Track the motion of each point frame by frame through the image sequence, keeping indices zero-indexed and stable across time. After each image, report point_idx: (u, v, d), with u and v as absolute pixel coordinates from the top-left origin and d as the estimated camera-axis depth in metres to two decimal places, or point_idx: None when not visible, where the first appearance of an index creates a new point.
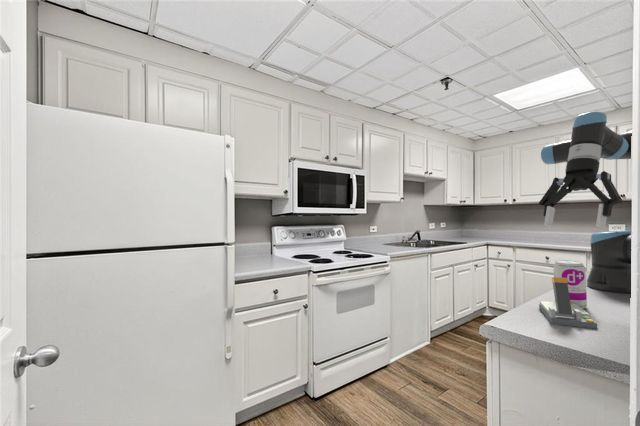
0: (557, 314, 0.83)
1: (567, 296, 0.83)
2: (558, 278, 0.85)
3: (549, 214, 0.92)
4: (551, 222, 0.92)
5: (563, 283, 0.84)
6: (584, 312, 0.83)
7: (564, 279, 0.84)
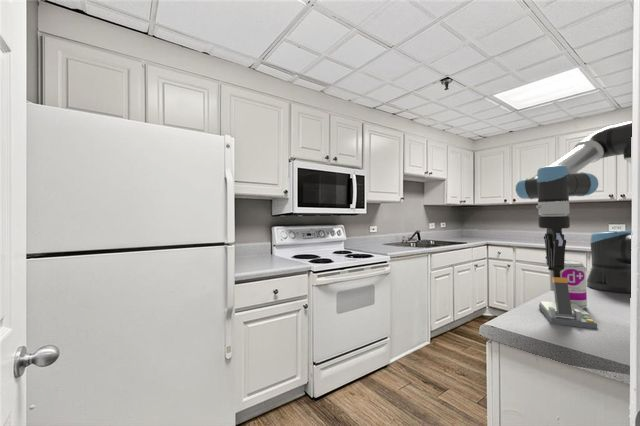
0: (557, 314, 0.83)
1: (567, 296, 0.83)
2: (558, 278, 0.85)
3: None
4: None
5: (563, 283, 0.84)
6: (584, 312, 0.83)
7: (564, 279, 0.84)
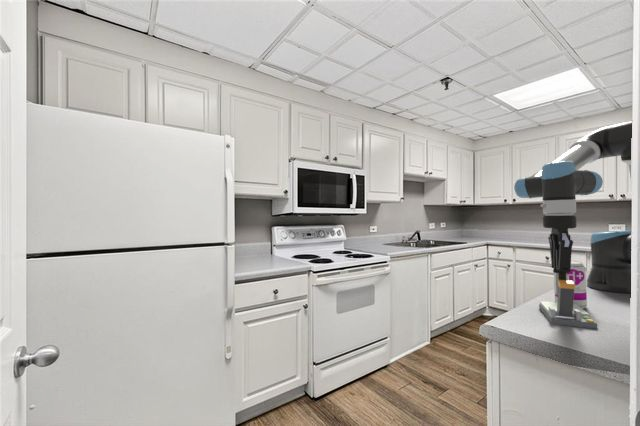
0: (557, 315, 0.83)
1: (571, 301, 0.80)
2: (565, 284, 0.79)
3: None
4: None
5: (569, 289, 0.79)
6: (584, 312, 0.83)
7: (571, 285, 0.79)
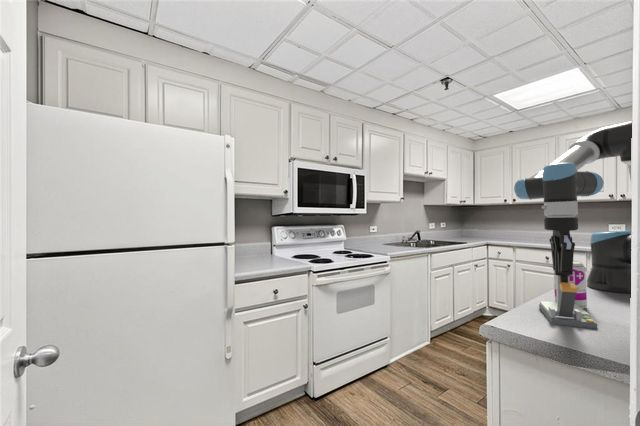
0: (557, 315, 0.83)
1: (572, 303, 0.79)
2: (567, 288, 0.78)
3: None
4: None
5: (571, 292, 0.78)
6: (584, 312, 0.83)
7: (573, 289, 0.77)
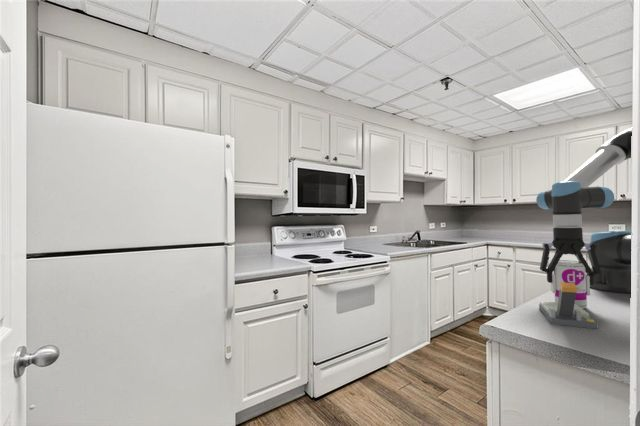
0: (557, 315, 0.83)
1: (572, 303, 0.79)
2: (567, 288, 0.78)
3: None
4: (586, 290, 0.94)
5: (571, 292, 0.78)
6: (584, 312, 0.83)
7: (574, 289, 0.77)
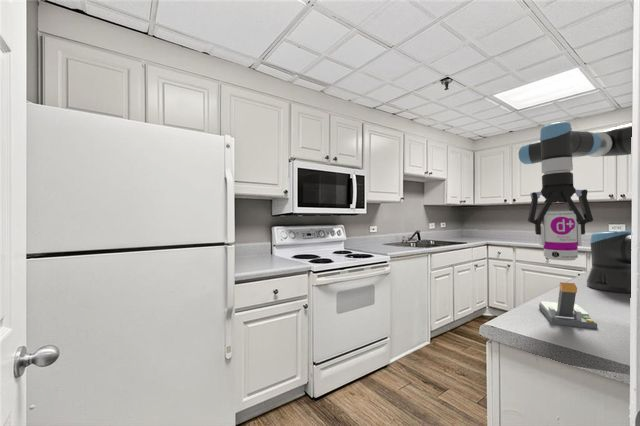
0: (557, 315, 0.83)
1: (572, 303, 0.79)
2: (567, 288, 0.78)
3: None
4: (577, 240, 0.86)
5: (571, 292, 0.78)
6: (584, 312, 0.83)
7: (574, 289, 0.77)
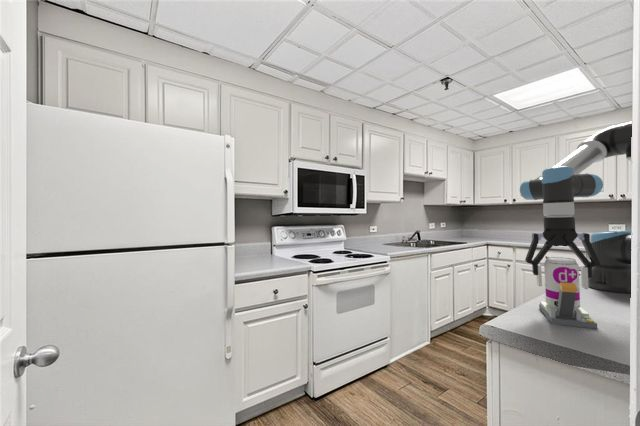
0: (557, 315, 0.83)
1: (572, 303, 0.79)
2: (567, 288, 0.78)
3: (582, 275, 0.87)
4: (584, 283, 0.86)
5: (571, 292, 0.78)
6: (584, 312, 0.83)
7: (574, 289, 0.77)
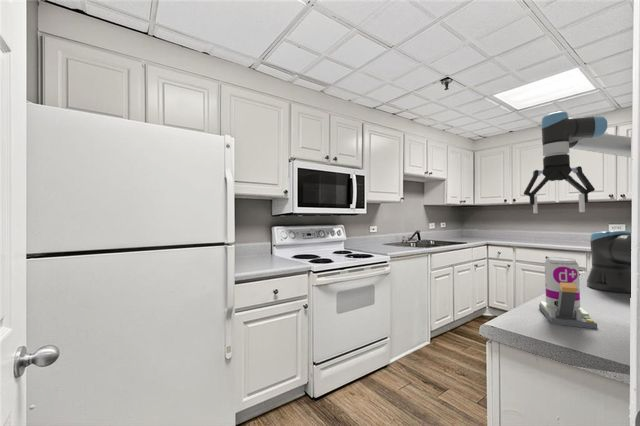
0: (557, 315, 0.83)
1: (572, 303, 0.79)
2: (567, 288, 0.78)
3: (579, 201, 1.02)
4: (581, 207, 1.01)
5: (571, 292, 0.78)
6: (584, 312, 0.83)
7: (574, 289, 0.77)
